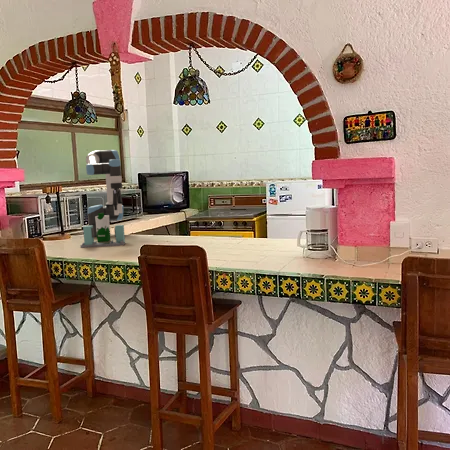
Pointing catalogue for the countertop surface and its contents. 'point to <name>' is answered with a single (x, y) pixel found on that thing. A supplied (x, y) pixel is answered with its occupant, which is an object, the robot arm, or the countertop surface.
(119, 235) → the finger free
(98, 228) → the milk carton
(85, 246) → the rail
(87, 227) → the teal rectangular block
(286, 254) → the countertop surface
